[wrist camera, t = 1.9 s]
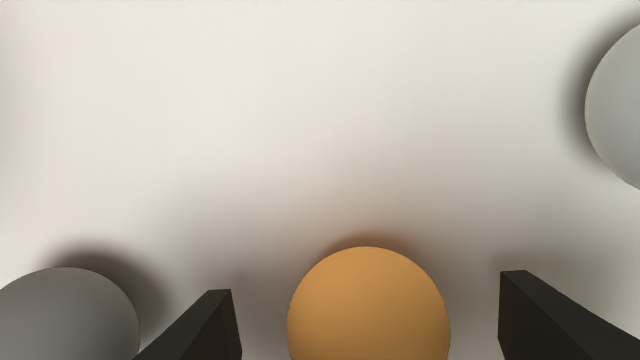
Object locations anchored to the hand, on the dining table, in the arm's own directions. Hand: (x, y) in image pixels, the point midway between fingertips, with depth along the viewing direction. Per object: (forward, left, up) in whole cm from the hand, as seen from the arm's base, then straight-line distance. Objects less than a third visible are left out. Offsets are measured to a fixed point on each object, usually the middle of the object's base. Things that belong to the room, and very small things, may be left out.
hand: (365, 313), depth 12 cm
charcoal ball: (-8, 0, +1) cm, 8 cm away
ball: (0, 0, +1) cm, 1 cm away
